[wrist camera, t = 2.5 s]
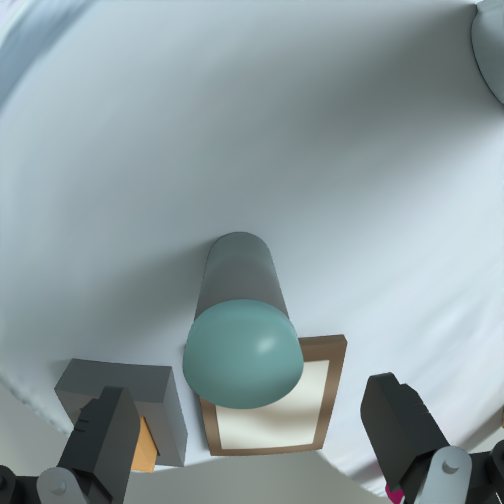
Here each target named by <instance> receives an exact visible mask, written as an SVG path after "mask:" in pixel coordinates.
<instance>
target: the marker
mask: <svg viewBox="0 0 504 504" xmlns="http://www.w3.org/2000/svg"><path fill="white" fill-rule="evenodd" d="M182 366H183V373H184V376H185V379H186V381H187V383H188V384H189V386H190V387H191V388H192V389H193V391H194V392H195V393H197V394H198V395H199V396H200V397H202V398H203V399H205V400H207V401H208V402H210V403H213V404H215V405H218V406H221V407H225V408H230V409H254V408H259V407H263V406H267V405H269V404H272V403H274V402H276V401H278V400H280V399H282V398H283V397H285V396H286V395H287V394H289V393H290V392H291V391H292V390H293V389H294V387H295V386H296V385H297V384H298V382H299V380H300V378H301V375H302V373H303V368H304V361H303V355H302V352H301V348H300V345H299V341H298V338H297V334H296V331H295V328H294V326H293V324H292V323H291V321H290V319H289V316H288V312H287V309H286V305H285V302H284V298H283V295H282V291H281V288H280V284H279V281H278V278H277V274H276V271H275V267H274V264H273V260H272V257H271V254H270V251H269V249H268V247H267V245H266V244H265V243H264V242H263V241H262V240H261V239H260V238H258V237H257V236H255V235H253V234H250V233H246V232H234V233H230V234H227V235H225V236H223V237H221V238H220V239H219V240H217V241H216V242H215V244H214V245H213V246H212V248H211V250H210V252H209V256H208V260H207V264H206V268H205V273H204V277H203V282H202V286H201V290H200V295H199V299H198V304H197V309H196V313H195V318H194V323H193V324H192V326H191V328H190V330H189V334H188V338H187V343H186V347H185V352H184V357H183V365H182Z"/></svg>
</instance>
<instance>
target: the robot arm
mask: <svg viewBox="0 0 504 504" xmlns="http://www.w3.org/2000/svg"><path fill="white" fill-rule="evenodd" d="M476 5H477V9H478V13H477V15H476V17H475V18H474V20H473V24H472V35H471V37H472V44H473V49H474V53H475V57H476V60H477V63H478V65H479V68H480V71H481V73H482V75H483V77H484V79H485V81H486V83H487V84H488V86H489V88H490V89H491V91H492V92H493V94H494V95H495V96H496V97H497V99H498V100H499V101H500V102H501V103H502V104H503V105H504V0H483V1H481V2H478V3H476ZM360 413H361V420H362V423H363V425H364V427H365V430H366V432H367V435H368V437H369V440H370V442H371V445H372V447H373V449H374V452H375V454H376V457H377V459H378V462H379V464H380V467H381V469H382V472H383V475H384V477H385V480H386V482H387V485H388V487H389V490H390V493H392V492H396V491H399V490H402V491H403V494H404V496H403V498H402V500H401V502H400V504H501V503H500V501H499V499H498V497H497V495H496V492H497V494H498V496H499V498H500V500H501V502H502V504H504V440H501V441H500V442H498V443H497V444H496V445H495V447H494V448H493V449H492V450H491V451H487V452H481V453H473V454H468V453H467V452H466V451H465V450H463V449H462V448H459V447H456V446H450V444H449V443H448V442H447V440H446V438H445V437H444V435H443V433H442V432H441V430H440V428H439V427H438V425H437V423H436V422H435V420H434V419H433V417H432V415H431V414H430V413H429V410H428V409H427V407H426V406H425V405H424V404H423V401H422V399H421V398H420V396H419V395H418V393H417V392H416V391H415V390H414V389H412V388H411V387H410V386H408V385H407V384H401V385H400V384H399V382H398V380H397V379H396V377H395V376H394V374H393V373H391V372H388V373H383V374H378V375H373V376H370V377H369V379H368V382H367V385H366V389H365V393H364V396H363V400H362V403H361V408H360ZM140 428H141V424H140V417H139V414H138V411H137V409H136V406H135V404H134V401H133V398H132V396H131V393H130V390H129V389H128V388H127V387H120V386H109V385H106V386H105V387H104V388H103V390H102V393H101V395H100V397H99V399H95V398H92V399H91V400H90V401H89V402H88V403H87V404H86V405H85V406H84V407H83V408H82V411H81V413H80V415H79V417H78V422H77V421H76V424H75V426H74V431H72V433H71V435H70V437H69V440H68V442H67V444H66V446H65V449H64V451H63V454H62V456H61V458H60V461H59V463H58V465H57V466H56V467H53V468H49V469H47V470H45V471H44V472H43V473H41V475H40V476H38V477H33V476H16V475H15V474H14V473H13V472H12V471H11V470H10V469H9V468H8V467H6V466H3V465H0V504H123V501H124V496H125V492H126V487H127V482H128V478H129V474H130V470H131V466H132V462H133V458H134V454H135V450H136V446H137V442H138V438H139V434H140Z"/></svg>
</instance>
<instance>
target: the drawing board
mask: <svg viewBox="0 0 504 504" xmlns="http://www.w3.org/2000/svg"><path fill="white" fill-rule="evenodd" d="M298 341H299V345H300V348H301V352H302V355H303V361H304V368H303V373H302V375H301V378H300V380H299V382H298V384H297V385H296V386H295V387H294V389H293V390H292V391H291V392H290V393H289V394H287V395H286V396H285V397H283V398H282V399H280V400H278V401H276V402H274V403H272V404H269V405H267V406H263V407H259V408H254V409H230V408H225V407H221V406H218V405H215V404H213V403H210V402H208V401H207V400H205V399H203V398H202V397H200V396H199V398H200V404H201V409H202V414H203V420H204V425H205V430H206V435H207V440H208V445H209V450H210V454H211V456H249V455H269V454H283V453H293V452H303V451H311V450H319V449H322V447H323V444H324V440H325V437H326V433H327V429H328V426H329V422H330V418H331V414H332V410H333V406H334V402H335V398H336V394H337V390H338V385H339V381H340V376H341V372H342V367H343V362H344V357H345V352H346V347H347V340H346V339H345V337H344V335H333V336H321V337H308V338H298Z"/></svg>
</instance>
